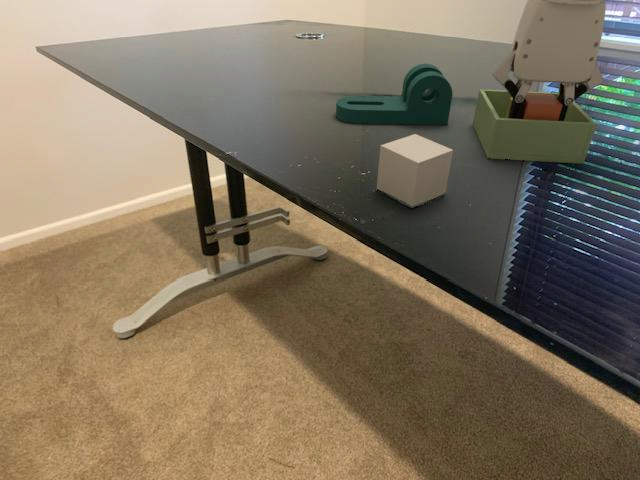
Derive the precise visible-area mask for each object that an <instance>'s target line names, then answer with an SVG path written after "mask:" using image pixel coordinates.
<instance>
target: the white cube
mask: <svg viewBox="0 0 640 480" xmlns="http://www.w3.org/2000/svg"><path fill="white" fill-rule="evenodd" d="M453 153H454V149H452V148H450V147H447V146H445V145H442V144H441V143H438V142H435V141H433V140H431V139H429V138H426V137H423V136H421V135H418V134H417V133H413V134H410V135H408V136H405V137H402V138H399V139H396V140H393V141H390V142H387V143H384V144H381V145H380V149H379V158H378V169H377V179H376V190H377V189H379V190H381V191H384V192H386V193H388V194H390V195H392V196H394V197H396V198H398V199H399V200H402V201H404V202H406V203H407V204H409V205H411V206H414V205H417V204H419V203H422V202H425V201H427V200H430V199H433V198H435V197H437V196H439V195H441V194H443V193H445V194H446V193H447V187H448V181H449V175H450V170H451V166H452V165H451V164H452V160H453V159H452V158H453Z"/></svg>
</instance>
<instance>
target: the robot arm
mask: <svg viewBox="0 0 640 480" xmlns="http://www.w3.org/2000/svg"><path fill="white" fill-rule="evenodd" d="M606 10H607V2H606V1H604V0H527V1H526V3H525V6H524V8H523V11H522V14H521V17H520V19H519V22H518V25H517V28H516V31H515V34H514V38H513V41H512V44H511V48H510V51H509V54H508V56H507V57H506V58H505V59H504V60H503V61H502V62H501V63H500V64H499V65H498V66H497V67H496V68H495V69H494V70H493V71H492V77H493V78H494V79H495V80H496V81H497V82H498V83H499V84H500V85H501V86H502V87H503V88H505V90H506V91H508V92H509V93H510V95H511V96H512V97H513V99H512V103H511V107H510V112H509V116H508V119H523V116H524V112H525V108H526V103H525V102H524V101H525V96H526V95H527V93H528V92H530V89H531V86H532V85H533V83H534V82H535V83H536V82H537V83H553V84H554V83H555V84H558V93H559V96H558V97H557V100H558V101H559V102H560V103H561V104H562V109H561V112H560V115H559V119H558V121H564V119H565V116H566V113H567V109H568V106H569V105H571V104H573V102H575V101H576V100H577V99H578V98H580V97H581V96H582V95H585V94H586V93H587V92H588V91H589V90H592V89H594V88H595V87H597V86H599V85H601V84H602V83H603V82H604V78H603V77H604V76H603V75H602V72H601V69H600V67H599V64H598V62H597V59H598V54H599V50H600V46H601V42H602V37H603V32H604V24H605V18H606ZM509 72H512V73H513V76H514V78H516V81H515V82H514V81H513V80H512V78H510V77H509V75H508V74H509Z"/></svg>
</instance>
